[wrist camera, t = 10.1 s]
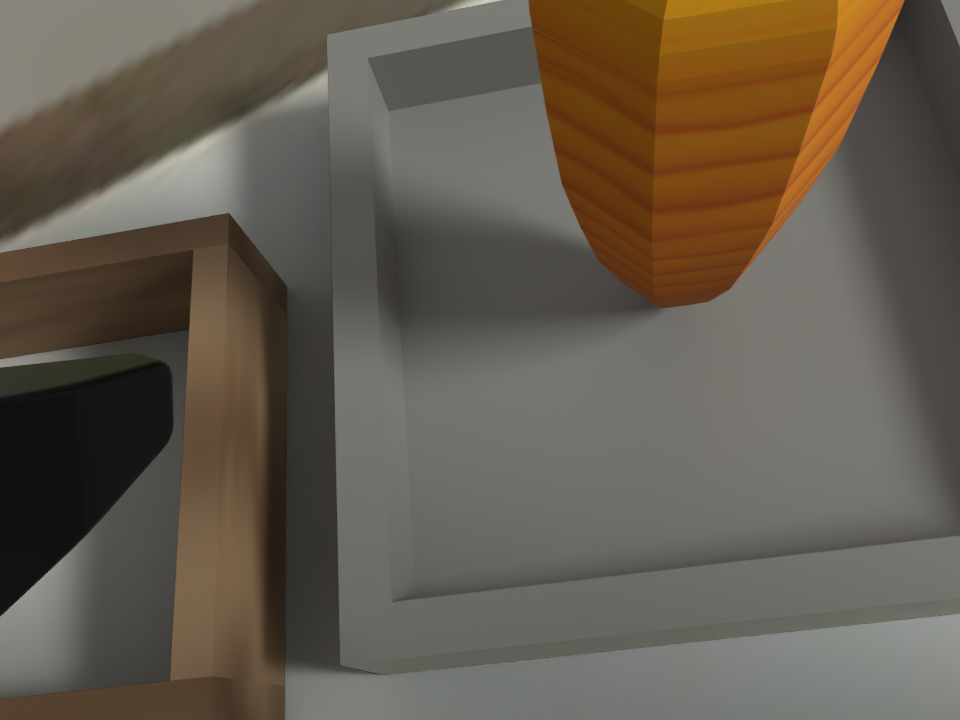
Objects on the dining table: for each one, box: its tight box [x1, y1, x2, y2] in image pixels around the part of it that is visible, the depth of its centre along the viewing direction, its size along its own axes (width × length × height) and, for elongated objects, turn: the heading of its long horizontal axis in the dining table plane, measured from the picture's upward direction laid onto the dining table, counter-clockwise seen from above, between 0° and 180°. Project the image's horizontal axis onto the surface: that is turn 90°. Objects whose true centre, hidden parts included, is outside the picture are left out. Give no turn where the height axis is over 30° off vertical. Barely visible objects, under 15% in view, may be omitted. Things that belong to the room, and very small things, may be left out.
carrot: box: [528, 0, 905, 308], centre depth 13 cm, size 5×5×15 cm
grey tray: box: [327, 0, 960, 675], centre depth 19 cm, size 15×15×3 cm
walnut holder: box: [0, 213, 286, 720], centre depth 19 cm, size 11×11×4 cm
